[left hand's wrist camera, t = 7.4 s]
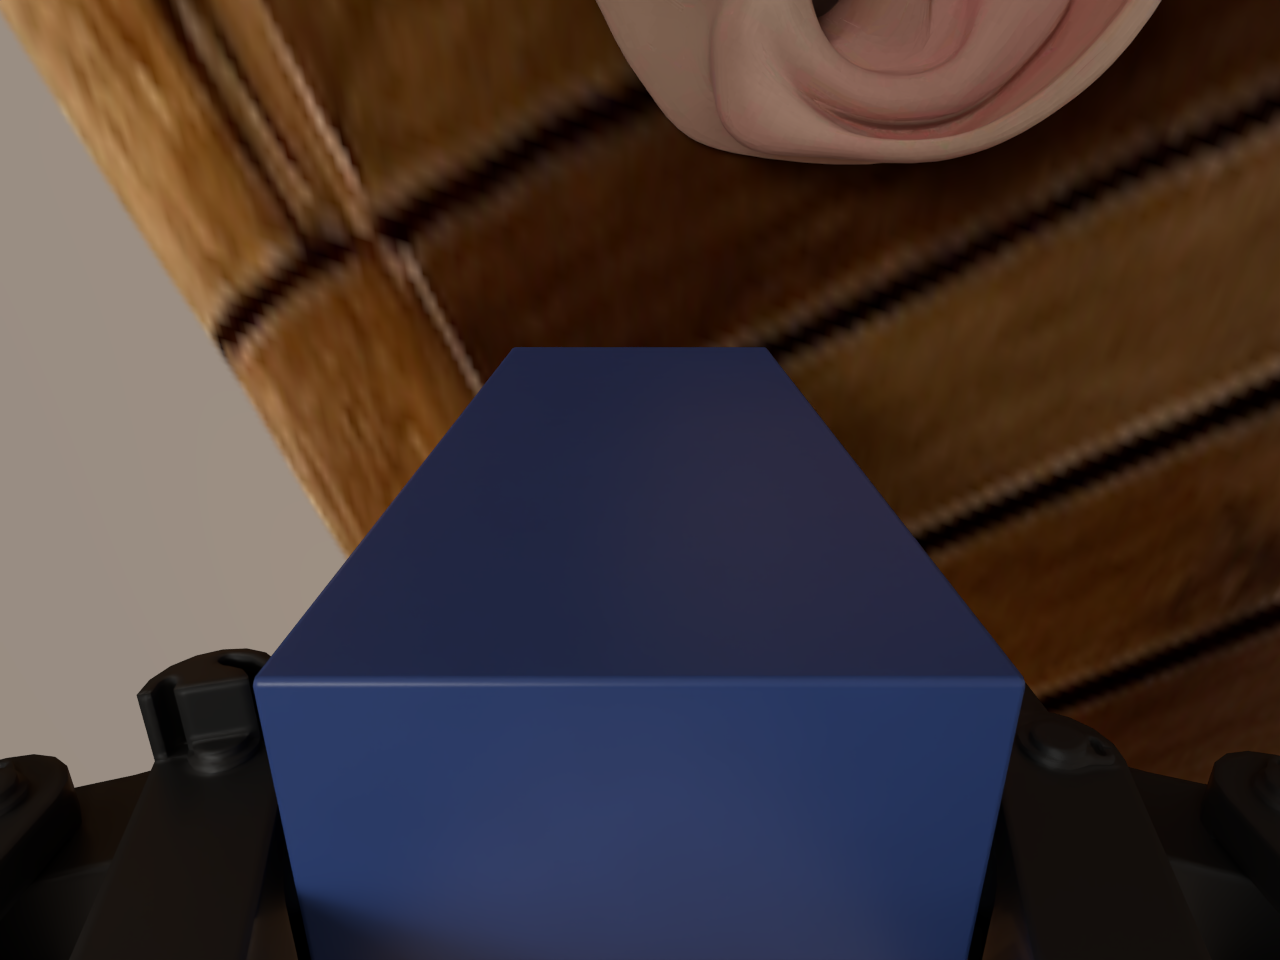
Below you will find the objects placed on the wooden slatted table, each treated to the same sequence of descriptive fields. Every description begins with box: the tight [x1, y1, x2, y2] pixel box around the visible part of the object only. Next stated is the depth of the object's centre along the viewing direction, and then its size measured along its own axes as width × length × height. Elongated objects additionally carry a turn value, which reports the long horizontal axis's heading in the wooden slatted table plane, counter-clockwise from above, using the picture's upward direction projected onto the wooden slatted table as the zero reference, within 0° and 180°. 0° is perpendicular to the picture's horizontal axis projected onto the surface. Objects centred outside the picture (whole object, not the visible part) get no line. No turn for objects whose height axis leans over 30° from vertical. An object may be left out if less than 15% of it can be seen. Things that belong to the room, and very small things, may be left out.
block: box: [253, 347, 1025, 960], centre depth 12 cm, size 6×6×12 cm
